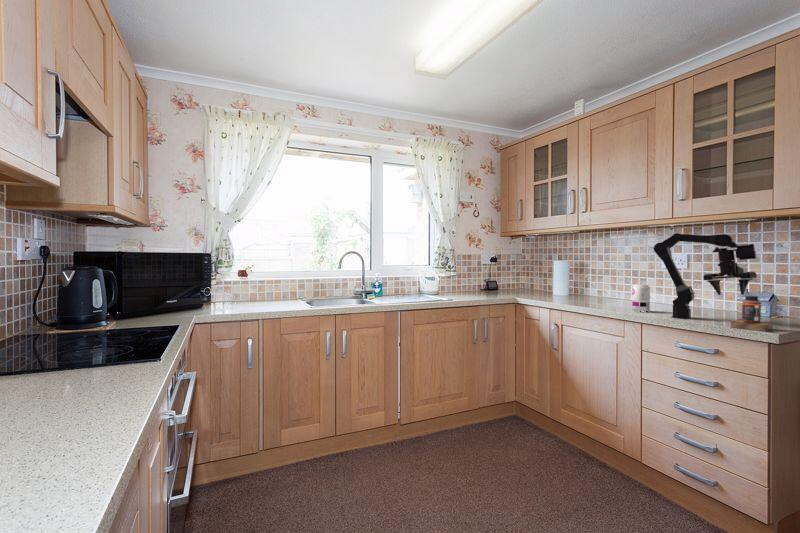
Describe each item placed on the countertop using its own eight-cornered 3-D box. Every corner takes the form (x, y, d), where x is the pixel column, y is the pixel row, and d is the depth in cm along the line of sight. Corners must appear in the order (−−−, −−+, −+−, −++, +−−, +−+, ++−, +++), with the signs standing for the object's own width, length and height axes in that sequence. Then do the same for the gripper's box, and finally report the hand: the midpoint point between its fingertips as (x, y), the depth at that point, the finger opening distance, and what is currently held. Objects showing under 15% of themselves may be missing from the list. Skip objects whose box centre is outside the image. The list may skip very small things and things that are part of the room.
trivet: (730, 327, 170) (731, 321, 170) (739, 325, 177) (739, 319, 177) (765, 331, 161) (765, 324, 161) (772, 328, 168) (772, 322, 168)
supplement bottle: (762, 323, 165) (762, 296, 165) (743, 322, 168) (744, 295, 168) (758, 321, 170) (759, 295, 170) (740, 320, 173) (741, 294, 173)
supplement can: (630, 311, 220) (631, 284, 219) (634, 310, 226) (634, 283, 226) (647, 312, 214) (648, 285, 214) (650, 311, 221) (651, 284, 220)
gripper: (761, 258, 179) (765, 293, 178) (714, 262, 196) (718, 293, 196) (747, 259, 175) (751, 295, 174) (701, 263, 192) (704, 295, 191)
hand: (730, 294), depth 184 cm, fingers open, 9 cm apart
